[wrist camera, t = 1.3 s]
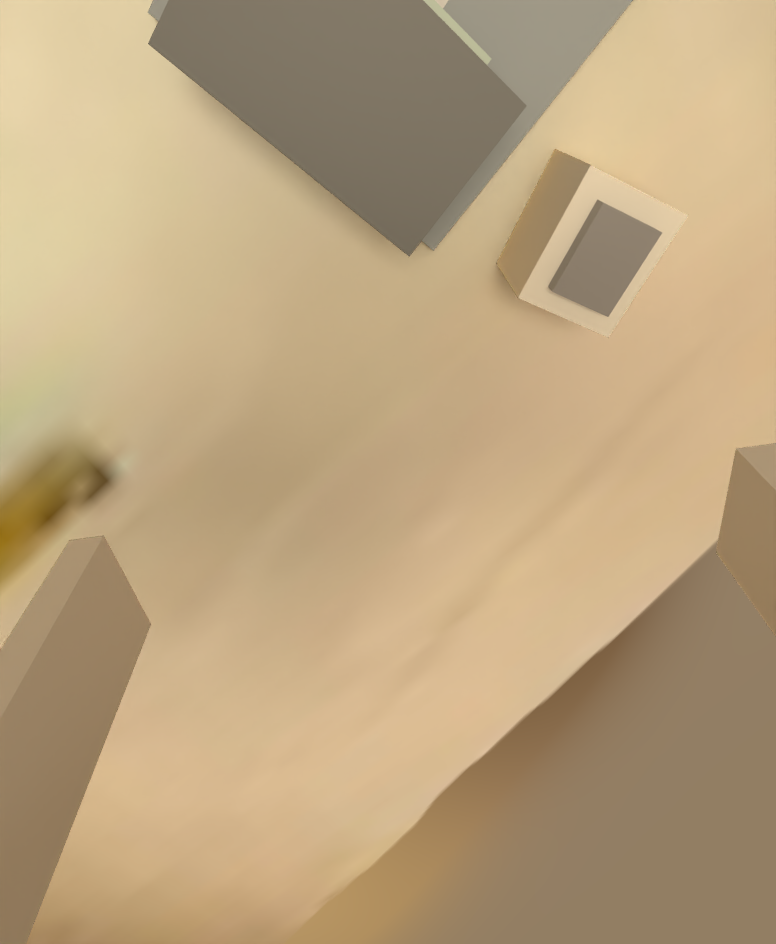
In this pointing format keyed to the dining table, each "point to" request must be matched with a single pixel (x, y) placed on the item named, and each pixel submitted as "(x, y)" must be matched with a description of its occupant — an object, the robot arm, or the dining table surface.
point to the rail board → (387, 89)
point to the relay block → (586, 244)
